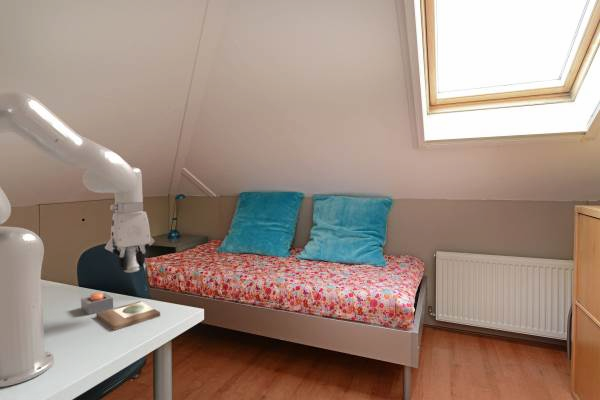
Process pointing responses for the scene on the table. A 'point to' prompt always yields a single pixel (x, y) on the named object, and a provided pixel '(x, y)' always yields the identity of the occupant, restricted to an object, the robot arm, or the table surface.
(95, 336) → the table surface
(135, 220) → the robot arm
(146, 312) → the board
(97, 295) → the button
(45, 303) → the table surface
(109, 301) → the button base
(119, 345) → the table surface
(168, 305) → the table surface
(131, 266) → the rook chess piece
